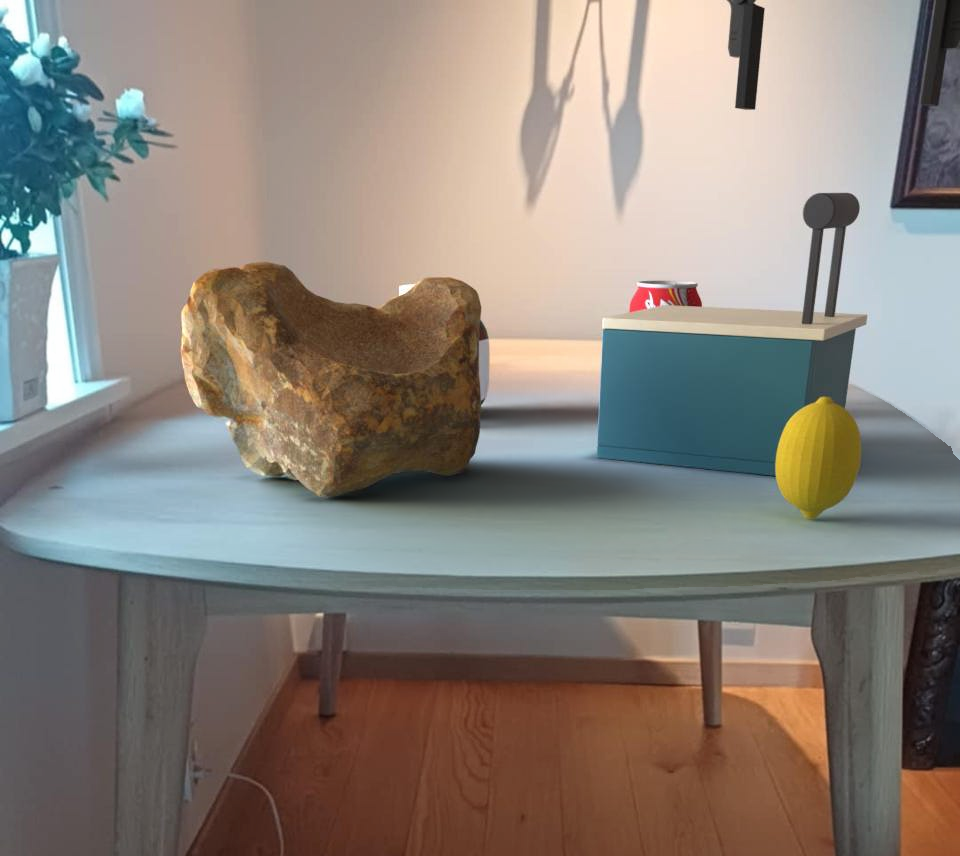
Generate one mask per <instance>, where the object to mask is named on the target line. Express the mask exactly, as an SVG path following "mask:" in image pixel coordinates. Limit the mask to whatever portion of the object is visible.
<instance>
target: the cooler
mask: <svg viewBox="0 0 960 856" xmlns="http://www.w3.org/2000/svg"><path fill="white" fill-rule="evenodd" d="M856 330H857V328H856V329H853V330H850V331H848V332H845V333H842V334H840V335H837V336H835V337H832V338H829V339H827V340H824V341H817V340H800V339H782V338H764V337H746V336H728V335H710V334H692V333H675V332H657V331H639V330H621V329H604V328H602V335H601V337H602V338H601V357H600V360H601V362H600V377H599V378H600V379H599V396H598V397H599V399H598V400H599V401H598V421H597V439H596V440H597V441H596V443H597V445H596V458H597V459H605V460H614V461H615V460H616V461H625V462H633V463H634V462H635V463H645V464H653V465H654V464H656V465H664V466H674V467H682V468H683V467H685V468H693V469H694V468H695V469H702V470H712V471H713V470H714V471H721V472H733V473H743V474H751V475H752V474H753V475H762V476H771V477H776V471H775V464H776V454H777V448H778V444H779V441H780V438H781V435H782V432H783V430H784V428H785V426H786V424H787V422H788V421H789V420H790V418H791V417H792V416H793V415H794V414H795V413H796V412H798V411H799V410H800V409H802V408H803V407H805V406H807V405H809V404H812V403H815V402H816V401H817V400H818V399H819V398H820V397H825V396H826V397H830V398H831V399H832V400H833V402H834V403H835V404H838V405H840V406H841V407H843V408H844V409H845V410H846V404H847V396H848V390H849V382H850V376H851V374H850V373H851V368H852V359H853V353H854V344H855V337H856Z"/></svg>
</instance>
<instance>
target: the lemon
mask: <svg viewBox="0 0 960 856" xmlns="http://www.w3.org/2000/svg"><path fill="white" fill-rule="evenodd" d="M860 433H861V432H860V429H859V425H858V424H857V421H856V419H855V418H854V417H853V415H852V414H851V413H850V412H849V411H848V410H847V409H846V408H845V409H844V408H843V407H841V406H840V405H838V404H835V403H834V402H833V400H832V399H831V398H830V397H826V396H825V397H820V398H819V399H818V400H817V401H816V402H815V403H812V404H809V405H807V406H805V407H803V408H802V409H800V410H799V411H798V412H796V413H795V414H794V415H793V416H792V417H791V418H790V420H789V421H788V422H787V424H786V426H785V428H784V430H783V432H782V435H781V438H780V441H779V444H778V448H777V454H776V464H775V471H776V476H775V479H776V483H777V487H778V489H779V491H780V493H781V495H782V497H783V498H784V499H785V500H786V501H787V502H788V503H789V504H790V505H792V506H793V507H795V508H796V509H799V510H800V512H801V514H802V515H803V516H804V518H805V519H808V520H813V519H816V518H817V517H818V516H819V515H821V514H822V513H823V511H825V510H828V509H831V508H833V507H835V506H836V505H838V504H839V503H841V502H842V501H843V500H844V499H845V498H846V496H848V495H849V493H850V492H851V490H852V489H853V486H854V484H855V482H856V479H857V477H858V474H859V471H860V467H861V466H860V465H861V459H862V441H861V434H860Z"/></svg>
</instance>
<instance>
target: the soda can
mask: <svg viewBox="0 0 960 856" xmlns="http://www.w3.org/2000/svg"><path fill="white" fill-rule="evenodd" d="M636 286H637V289H636V291H635V293H634V295H632V298H631V300H630V302H629V309H628V310H629V311H628V313H629V312H634V311H639V310H644V309H649V308H654V307H658V306H663V305H673V306H694V307H703V302H702V299H701V296H700V294H699V293H698V290H697V287H698V282H696V281H686V280H641V281H637V283H636Z"/></svg>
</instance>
